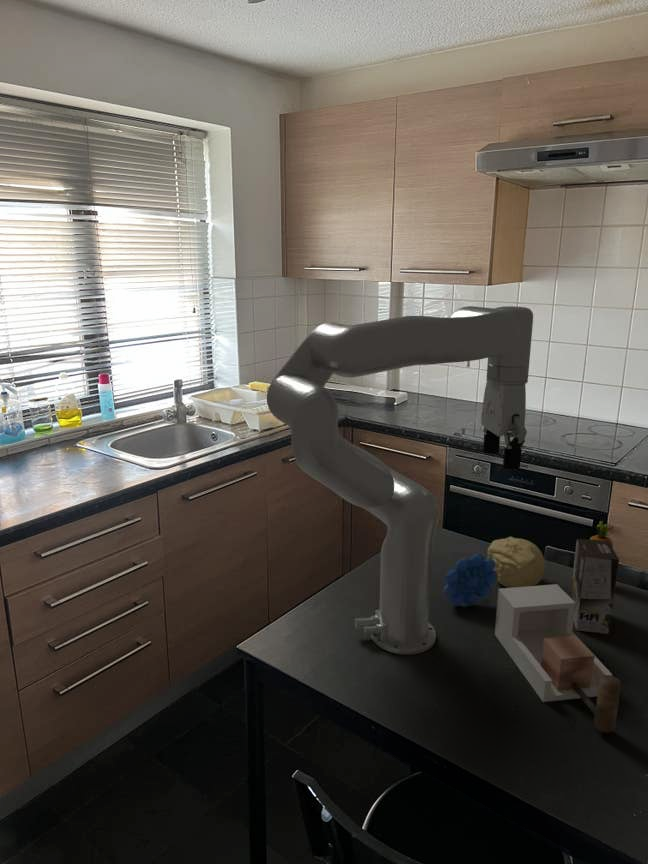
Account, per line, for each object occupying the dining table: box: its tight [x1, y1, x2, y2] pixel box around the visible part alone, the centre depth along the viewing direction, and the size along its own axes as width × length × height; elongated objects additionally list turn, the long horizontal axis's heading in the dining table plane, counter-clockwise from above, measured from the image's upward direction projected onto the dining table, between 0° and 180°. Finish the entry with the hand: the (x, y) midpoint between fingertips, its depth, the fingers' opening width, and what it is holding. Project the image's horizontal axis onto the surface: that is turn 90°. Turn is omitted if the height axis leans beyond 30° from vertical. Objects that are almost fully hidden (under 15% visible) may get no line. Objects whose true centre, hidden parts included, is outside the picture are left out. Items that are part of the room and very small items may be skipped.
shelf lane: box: [494, 583, 613, 703], centre depth 116 cm, size 12×20×10 cm, turn 9°
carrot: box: [589, 520, 614, 549], centre depth 144 cm, size 5×5×15 cm
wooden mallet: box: [541, 635, 622, 733], centre depth 106 cm, size 6×16×8 cm, turn 9°
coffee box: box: [570, 538, 620, 635], centre depth 129 cm, size 9×6×16 cm
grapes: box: [443, 553, 498, 607], centre depth 136 cm, size 12×7×12 cm, turn 98°
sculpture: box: [486, 536, 546, 588], centre depth 145 cm, size 11×12×11 cm
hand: (500, 460), depth 125 cm, fingers open, 9 cm apart
